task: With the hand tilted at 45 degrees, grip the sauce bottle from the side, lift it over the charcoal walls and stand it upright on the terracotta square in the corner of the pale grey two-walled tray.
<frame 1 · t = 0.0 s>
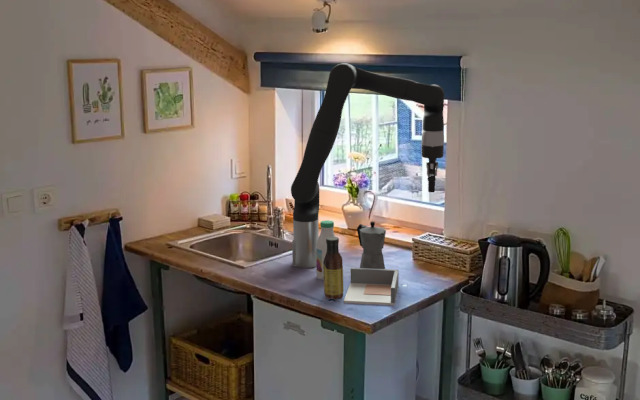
hand: (431, 189, 256), 29 cm above the counter, tool pointing down, fingers open, 8 cm apart
coffeepot: (370, 270, 263), on the counter
sauce bottle: (333, 297, 236), on the counter
milk bottle: (327, 277, 255), on the counter
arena: (371, 294, 238), on the counter
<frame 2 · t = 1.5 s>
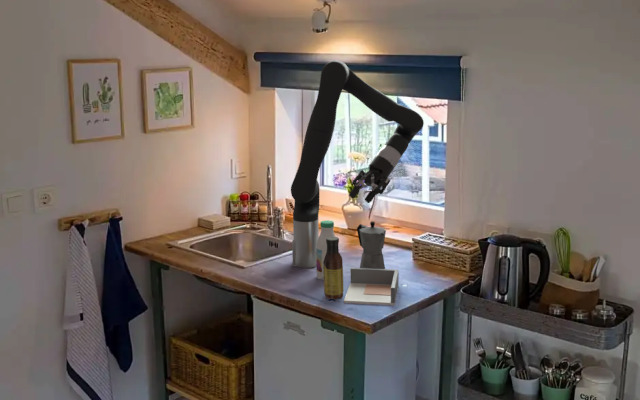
hand: (358, 199, 245), 29 cm above the counter, tool tilted 45°, fingers open, 8 cm apart
nothing on the counter moved.
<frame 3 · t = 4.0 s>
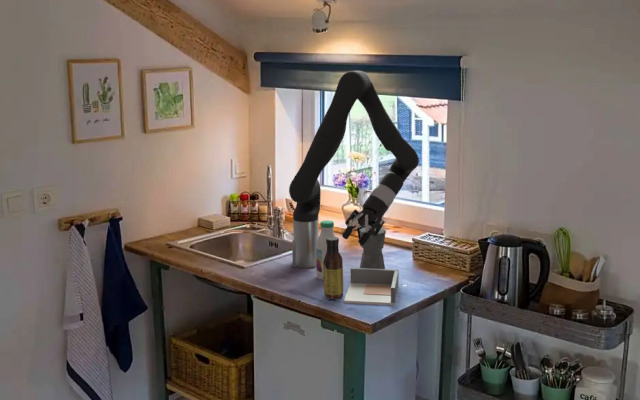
hand: (352, 240, 237), 17 cm above the counter, tool tilted 45°, fingers open, 8 cm apart
nothing on the counter moved.
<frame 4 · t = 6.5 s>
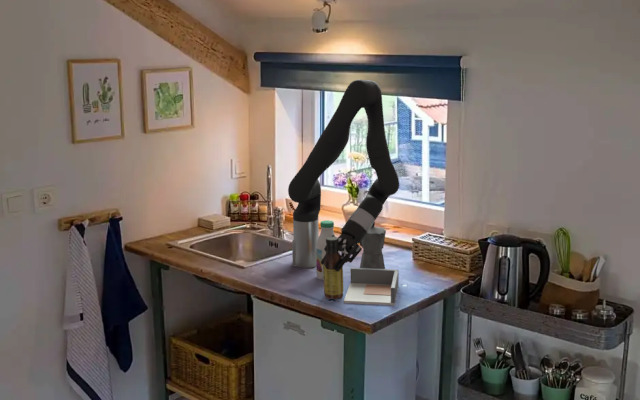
hand: (329, 267, 233), 10 cm above the counter, tool tilted 45°, fingers closed on sauce bottle, 6 cm apart
sauce bottle: (333, 297, 236), on the counter, touching gripper
everything else where it was.
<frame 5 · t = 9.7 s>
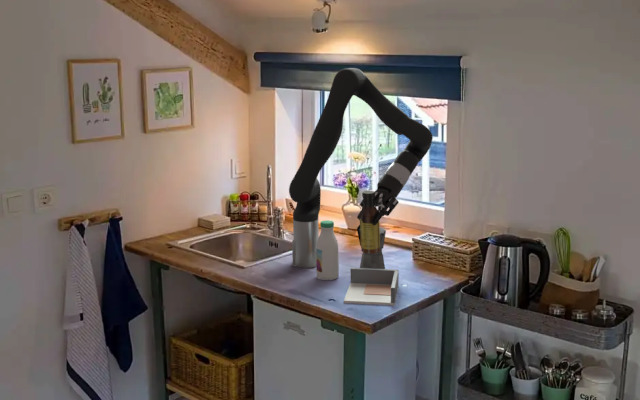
hand: (365, 221, 232), 25 cm above the counter, tool tilted 45°, fingers closed on sauce bottle, 6 cm apart
sauce bottle: (370, 252, 236), point 14 cm above the counter, touching gripper
everything else where it was.
when the fingers open (12 cm above the counter, at t = 12.9 s): sauce bottle stays where it is, resting on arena.
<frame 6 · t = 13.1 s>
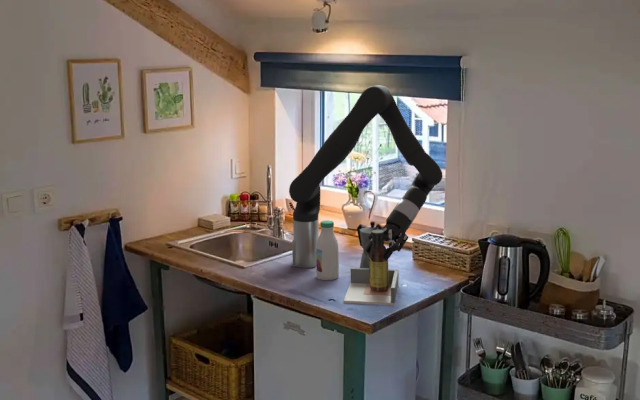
hand: (375, 255, 236), 13 cm above the counter, tool tilted 45°, fingers open, 8 cm apart
sauce bottle: (379, 289, 240), point 1 cm above the counter, touching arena
everything else where it was.
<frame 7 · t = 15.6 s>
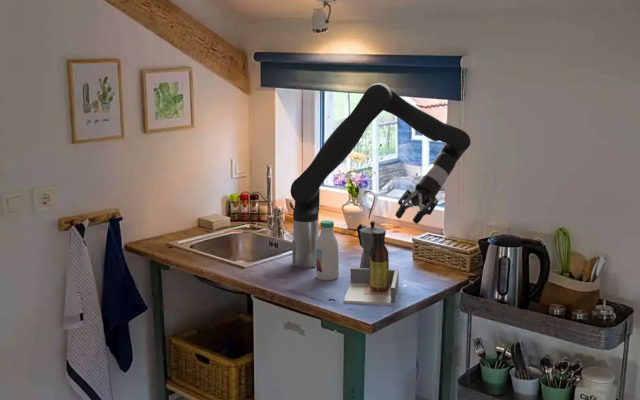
hand: (405, 219, 241), 23 cm above the counter, tool tilted 45°, fingers open, 8 cm apart
nothing on the counter moved.
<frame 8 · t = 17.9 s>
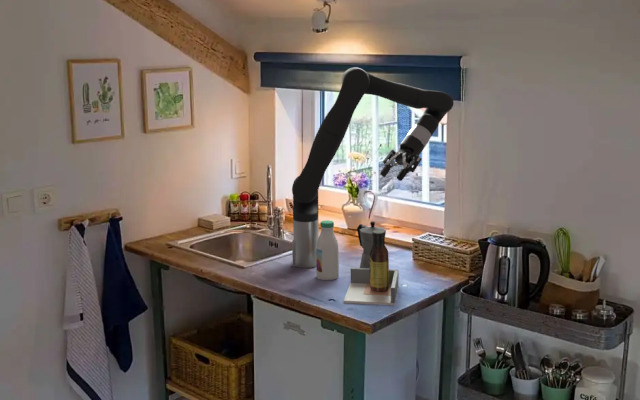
hand: (390, 177, 250), 35 cm above the counter, tool tilted 45°, fingers open, 8 cm apart
nothing on the counter moved.
at the end: sauce bottle 0.2 cm from the target spot on the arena, point 0.8 cm above the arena's base; sauce bottle tilted 0°; the gripper is holding nothing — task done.
